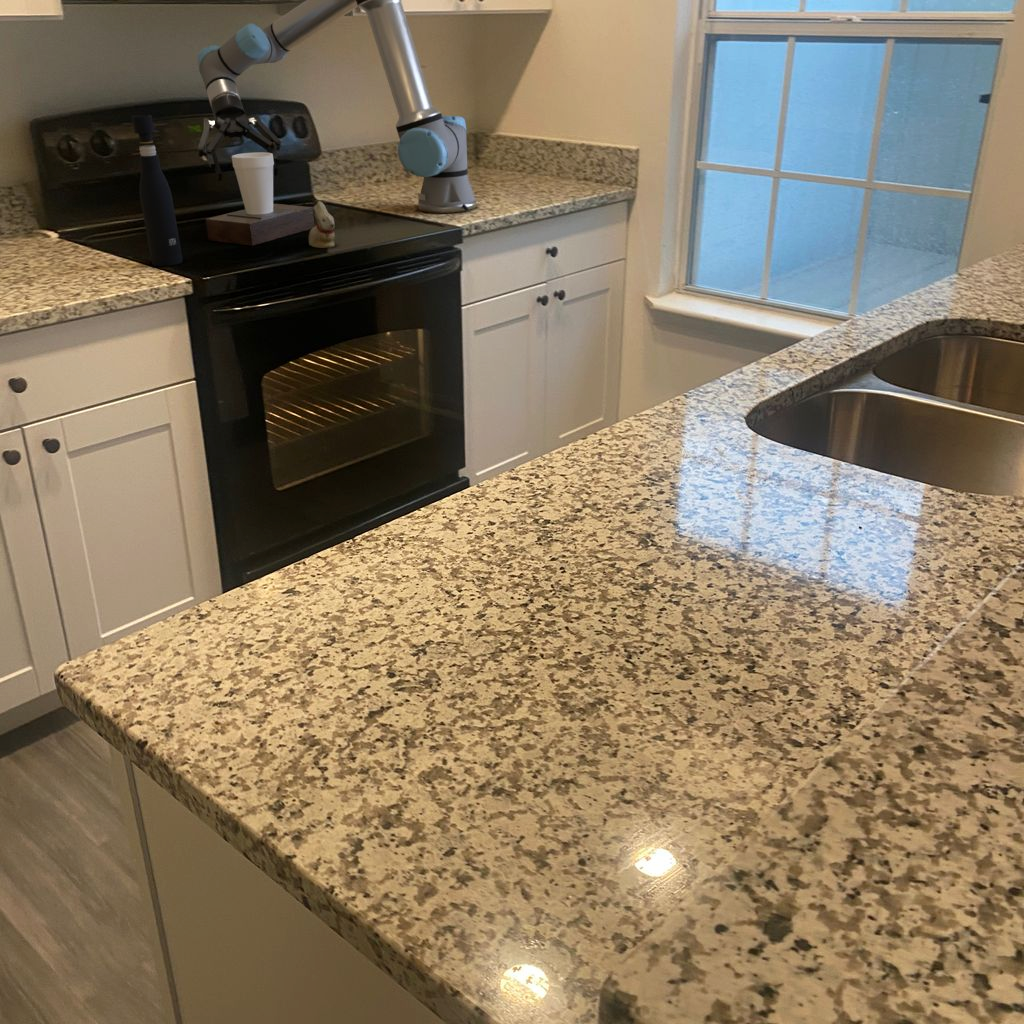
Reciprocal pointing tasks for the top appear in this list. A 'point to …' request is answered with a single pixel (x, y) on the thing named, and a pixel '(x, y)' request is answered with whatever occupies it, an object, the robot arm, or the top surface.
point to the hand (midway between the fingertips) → (248, 174)
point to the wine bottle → (156, 200)
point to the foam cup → (255, 181)
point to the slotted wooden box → (260, 225)
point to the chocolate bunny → (322, 228)
